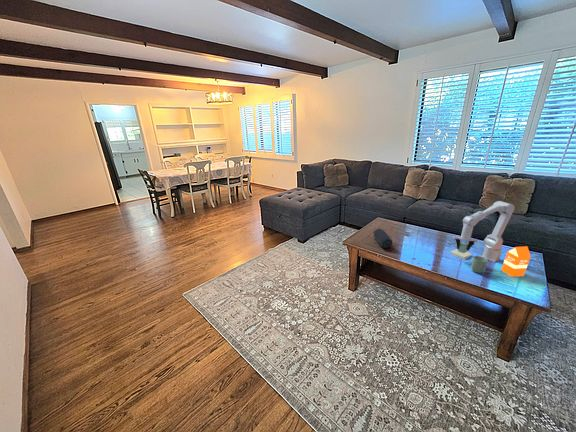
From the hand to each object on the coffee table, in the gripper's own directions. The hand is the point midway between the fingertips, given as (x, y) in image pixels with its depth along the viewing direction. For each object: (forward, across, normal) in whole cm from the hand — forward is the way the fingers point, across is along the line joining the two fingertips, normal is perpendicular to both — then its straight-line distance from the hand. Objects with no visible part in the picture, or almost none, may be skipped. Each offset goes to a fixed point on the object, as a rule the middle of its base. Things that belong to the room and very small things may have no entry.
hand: (462, 249), depth 176 cm
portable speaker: (+9, +56, -8) cm, 57 cm away
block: (+2, 0, 0) cm, 2 cm away
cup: (+9, -7, +14) cm, 18 cm away
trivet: (+9, -2, -9) cm, 13 cm away
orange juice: (+9, -29, +7) cm, 31 cm away
